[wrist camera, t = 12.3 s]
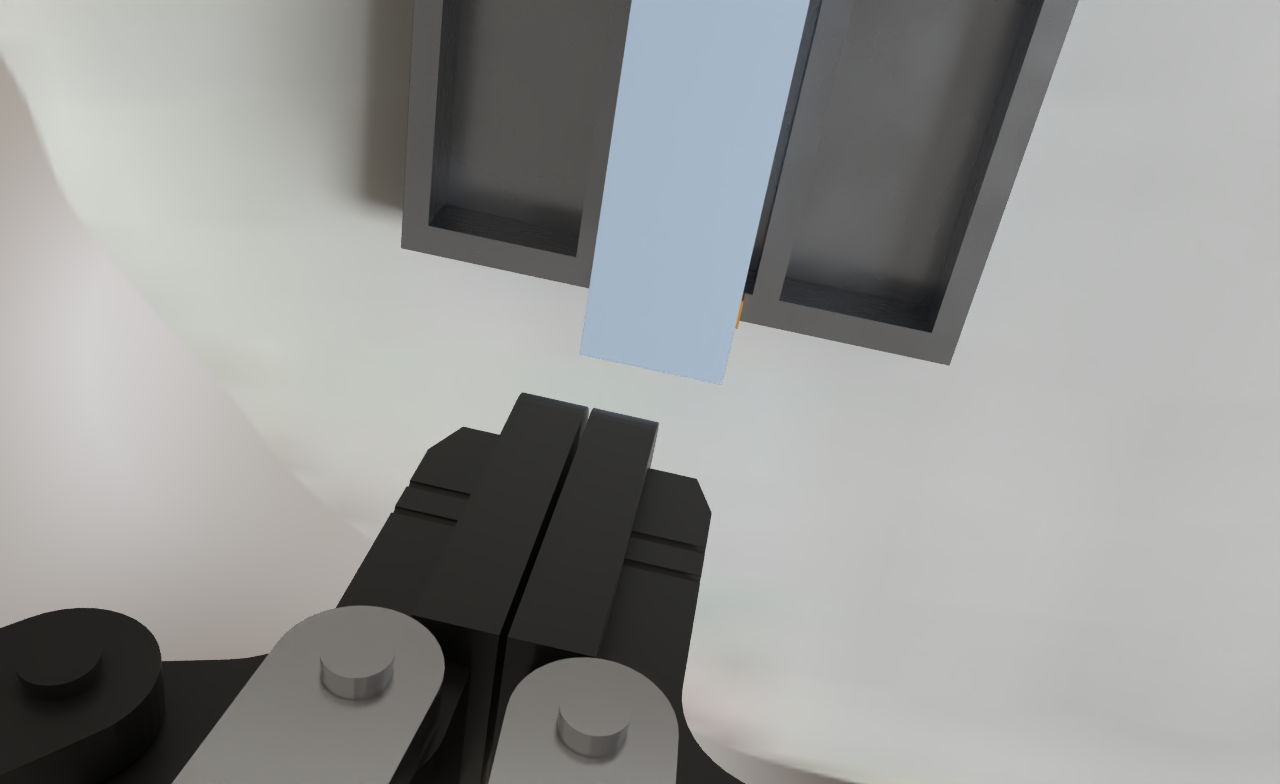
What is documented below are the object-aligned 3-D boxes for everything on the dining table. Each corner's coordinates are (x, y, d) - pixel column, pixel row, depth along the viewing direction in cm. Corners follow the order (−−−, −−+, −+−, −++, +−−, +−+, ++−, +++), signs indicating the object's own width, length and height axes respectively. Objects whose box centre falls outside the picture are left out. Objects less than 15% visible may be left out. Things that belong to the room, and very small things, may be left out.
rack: (457, -248, 25) (419, -248, 23) (1097, -125, 25) (1124, -113, 22) (427, 218, 31) (394, 255, 29) (942, 328, 31) (951, 374, 28)
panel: (699, -152, 25) (649, -118, 18) (830, -127, 25) (828, -83, 18) (638, 216, 30) (579, 354, 23) (747, 238, 29) (722, 384, 23)
